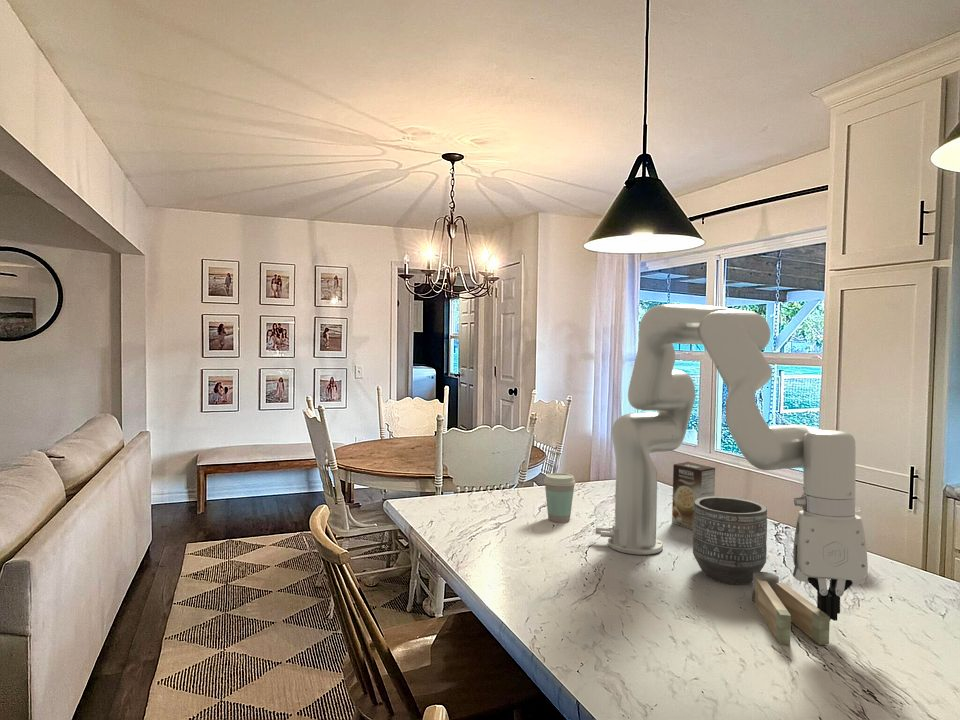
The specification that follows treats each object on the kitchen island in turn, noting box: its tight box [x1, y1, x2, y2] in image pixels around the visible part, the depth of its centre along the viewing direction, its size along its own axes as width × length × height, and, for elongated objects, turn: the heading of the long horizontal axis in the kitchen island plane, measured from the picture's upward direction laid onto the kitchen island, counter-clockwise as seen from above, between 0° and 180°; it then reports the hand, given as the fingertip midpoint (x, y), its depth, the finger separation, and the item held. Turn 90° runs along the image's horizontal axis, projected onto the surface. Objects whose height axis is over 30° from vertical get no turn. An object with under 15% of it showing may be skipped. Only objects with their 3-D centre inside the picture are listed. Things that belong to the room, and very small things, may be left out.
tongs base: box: [751, 571, 792, 646], centre depth 110 cm, size 4×19×5 cm, turn 170°
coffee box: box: [671, 461, 716, 530], centre depth 167 cm, size 9×6×16 cm
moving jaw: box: [776, 582, 831, 646], centre depth 108 cm, size 2×14×4 cm, turn 2°
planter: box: [692, 495, 768, 585], centre depth 131 cm, size 14×14×15 cm
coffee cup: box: [543, 472, 576, 524], centre depth 171 cm, size 8×8×12 cm
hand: (828, 616), depth 104 cm, fingers closed
